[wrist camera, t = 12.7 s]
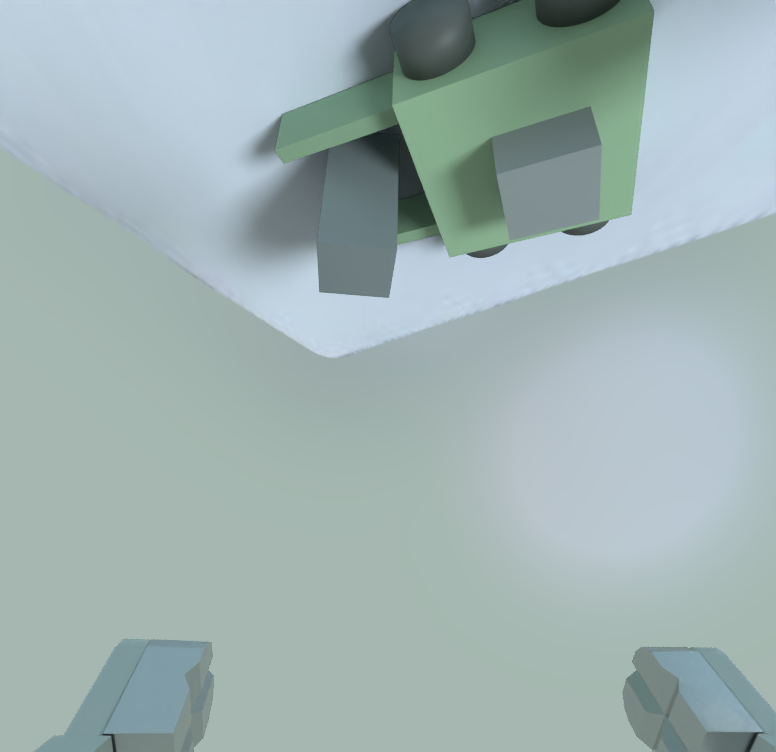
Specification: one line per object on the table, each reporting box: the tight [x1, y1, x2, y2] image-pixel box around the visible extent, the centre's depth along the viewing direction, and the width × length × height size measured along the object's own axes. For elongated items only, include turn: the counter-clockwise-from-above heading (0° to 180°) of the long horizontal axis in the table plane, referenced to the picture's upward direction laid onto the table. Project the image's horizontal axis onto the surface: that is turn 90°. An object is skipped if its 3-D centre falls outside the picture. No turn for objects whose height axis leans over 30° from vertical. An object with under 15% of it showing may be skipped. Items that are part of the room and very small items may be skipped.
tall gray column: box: [317, 133, 399, 298], centre depth 30 cm, size 4×4×10 cm
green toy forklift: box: [275, 0, 654, 258], centre depth 28 cm, size 16×20×8 cm
